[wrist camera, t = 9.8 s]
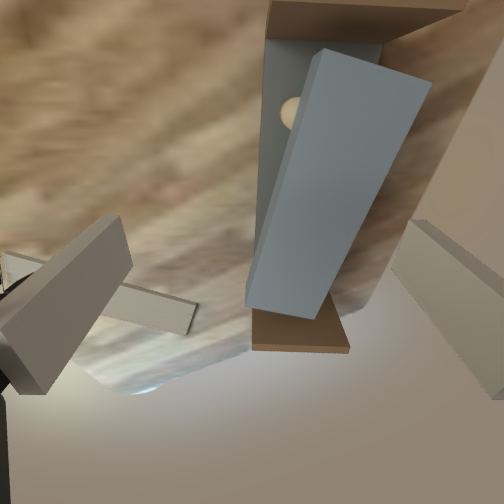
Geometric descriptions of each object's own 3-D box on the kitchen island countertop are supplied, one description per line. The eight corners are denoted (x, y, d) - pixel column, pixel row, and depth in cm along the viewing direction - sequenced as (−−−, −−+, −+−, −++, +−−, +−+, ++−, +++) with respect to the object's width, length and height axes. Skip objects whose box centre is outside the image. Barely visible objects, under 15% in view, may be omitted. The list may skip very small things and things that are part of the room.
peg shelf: (252, 285, 44) (251, 350, 33) (265, 25, 27) (273, -27, 16) (324, 288, 44) (348, 353, 33) (382, 31, 27) (473, -17, 16)
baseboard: (184, 337, 51) (197, 300, 46) (181, 349, 49) (194, 311, 44) (15, 295, 46) (10, 248, 41) (2, 306, 44) (-6, 257, 39)
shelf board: (245, 284, 36) (244, 306, 32) (312, 56, 23) (324, 47, 19) (307, 296, 37) (314, 319, 33) (404, 85, 24) (433, 82, 20)
